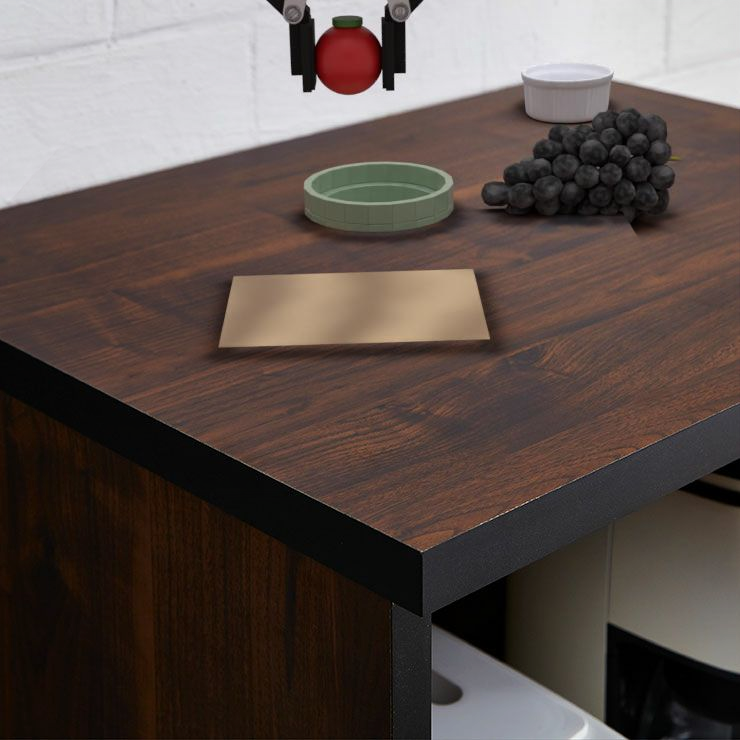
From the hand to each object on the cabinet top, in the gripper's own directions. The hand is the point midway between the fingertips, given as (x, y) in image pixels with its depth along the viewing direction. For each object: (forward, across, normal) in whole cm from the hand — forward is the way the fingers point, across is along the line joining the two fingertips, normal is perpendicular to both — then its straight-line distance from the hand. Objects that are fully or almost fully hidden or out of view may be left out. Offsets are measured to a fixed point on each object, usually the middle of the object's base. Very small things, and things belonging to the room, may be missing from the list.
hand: (349, 83), depth 83 cm
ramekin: (+15, +20, +52) cm, 57 cm away
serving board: (+15, 0, -2) cm, 15 cm away
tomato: (+1, 0, 0) cm, 1 cm away
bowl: (+15, +2, +18) cm, 24 cm away
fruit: (+15, +17, +18) cm, 29 cm away
